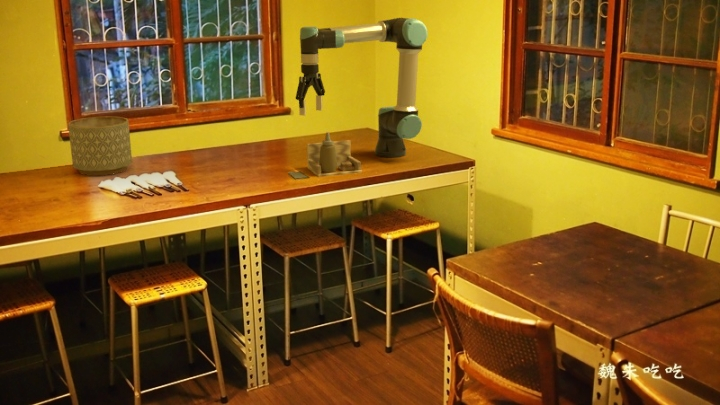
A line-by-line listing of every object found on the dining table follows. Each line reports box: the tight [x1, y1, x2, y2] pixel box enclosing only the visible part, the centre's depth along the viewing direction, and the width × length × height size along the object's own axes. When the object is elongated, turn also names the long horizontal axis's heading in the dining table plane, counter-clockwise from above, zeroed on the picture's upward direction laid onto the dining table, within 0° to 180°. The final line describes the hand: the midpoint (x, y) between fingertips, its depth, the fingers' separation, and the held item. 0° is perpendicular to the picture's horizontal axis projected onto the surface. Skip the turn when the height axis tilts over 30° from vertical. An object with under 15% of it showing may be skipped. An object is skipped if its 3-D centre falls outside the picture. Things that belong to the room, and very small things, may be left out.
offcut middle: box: [338, 165, 355, 172], centre depth 353 cm, size 5×6×2 cm
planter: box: [67, 116, 133, 176], centre depth 354 cm, size 26×26×22 cm
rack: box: [306, 139, 363, 178], centre depth 350 cm, size 20×16×12 cm
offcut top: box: [341, 161, 352, 168], centre depth 352 cm, size 4×5×2 cm
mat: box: [287, 170, 311, 180], centre depth 346 cm, size 10×11×1 cm
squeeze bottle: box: [319, 132, 337, 174], centre depth 348 cm, size 8×8×18 cm
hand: (311, 112), depth 347 cm, fingers open, 13 cm apart
